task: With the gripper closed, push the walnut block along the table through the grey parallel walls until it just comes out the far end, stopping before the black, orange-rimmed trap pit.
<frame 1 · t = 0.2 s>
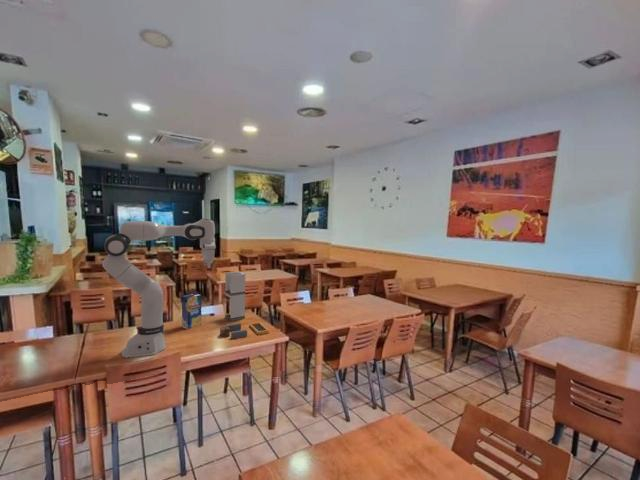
hand: (207, 266, 195), 47 cm above the table, fingers open, 8 cm apart
trap pit: (258, 329, 219), on the table
grey toy tower: (234, 318, 242), on the table
grey parallel walls: (236, 333, 210), on the table
walnut block: (224, 335, 207), on the table
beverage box: (191, 326, 222), on the table
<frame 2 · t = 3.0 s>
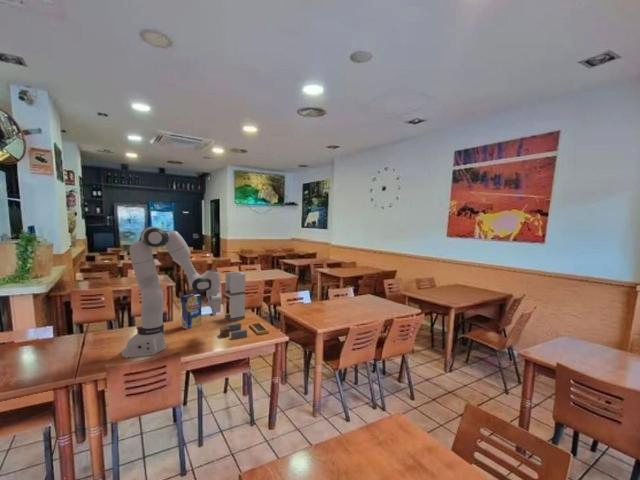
hand: (214, 315, 202), 14 cm above the table, fingers closed
nothing on the table moved.
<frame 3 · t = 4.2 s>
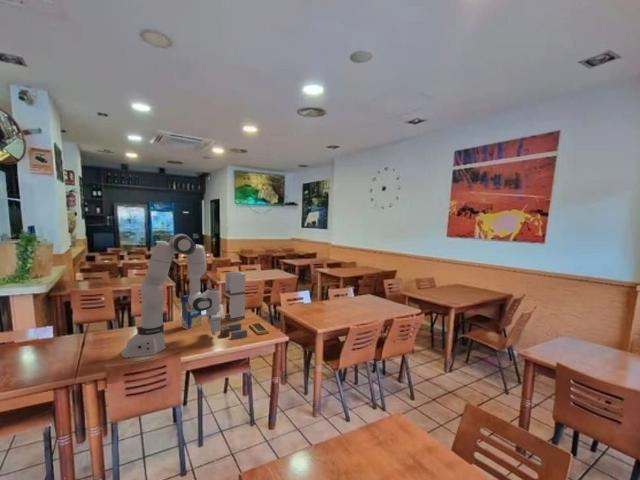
hand: (213, 334, 203), 2 cm above the table, fingers closed
nothing on the table moved.
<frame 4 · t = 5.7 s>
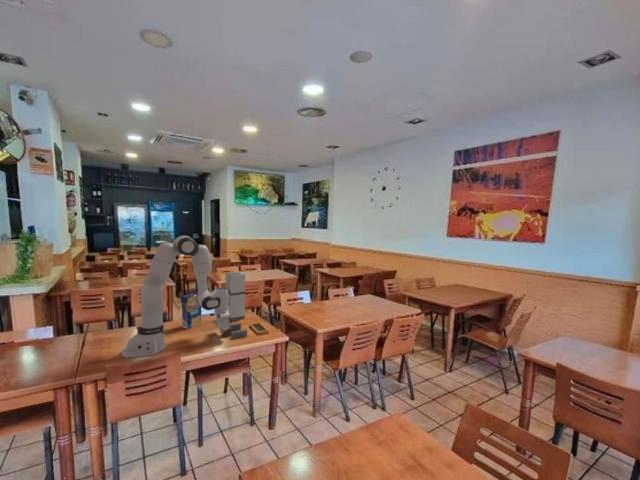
hand: (221, 332, 205), 2 cm above the table, fingers closed, pressing on walnut block
walnut block: (226, 335, 207), on the table, touching gripper
everything else where it was.
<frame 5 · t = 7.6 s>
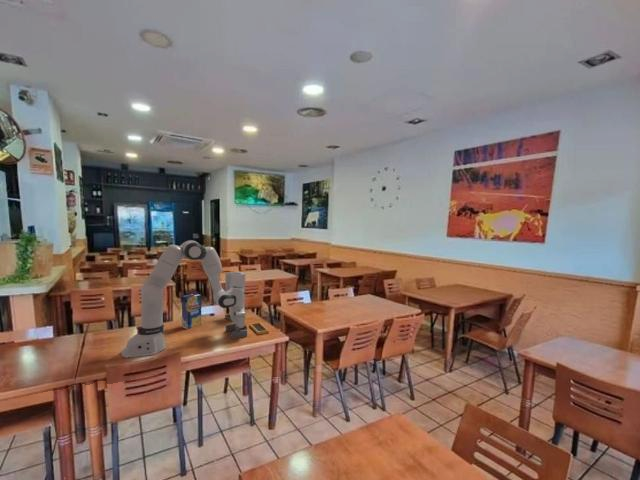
hand: (237, 330, 211), 2 cm above the table, fingers closed, pressing on walnut block
walnut block: (242, 332, 212), on the table, touching gripper
everything else where it was.
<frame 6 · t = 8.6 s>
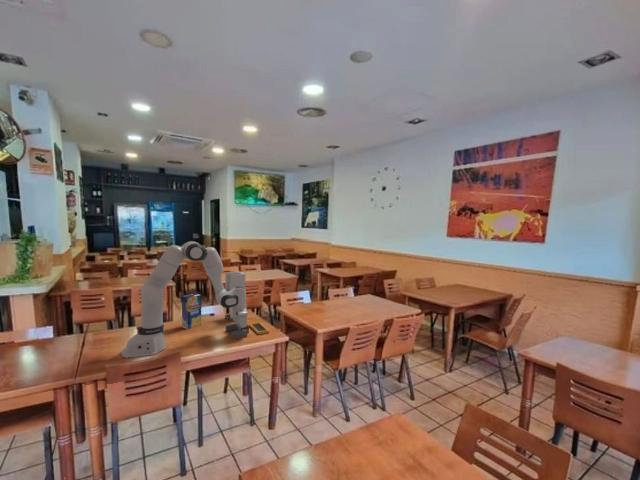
hand: (239, 329, 211), 2 cm above the table, fingers closed
walnut block: (244, 332, 213), on the table, touching gripper
everything else where it was.
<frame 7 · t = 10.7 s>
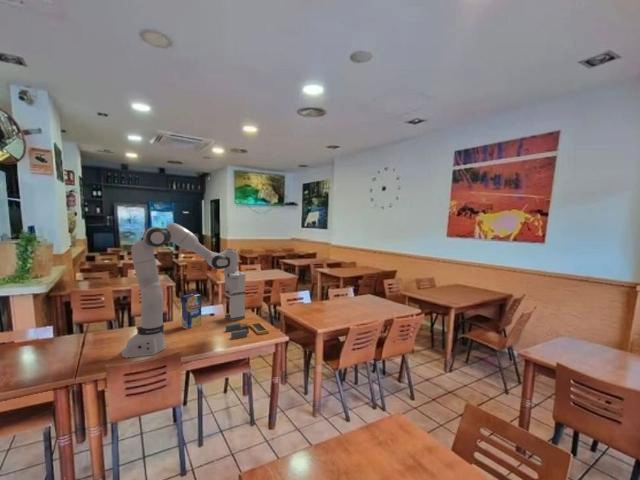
hand: (230, 293, 207), 28 cm above the table, fingers closed
walnut block: (244, 332, 213), on the table
everything else where it was.
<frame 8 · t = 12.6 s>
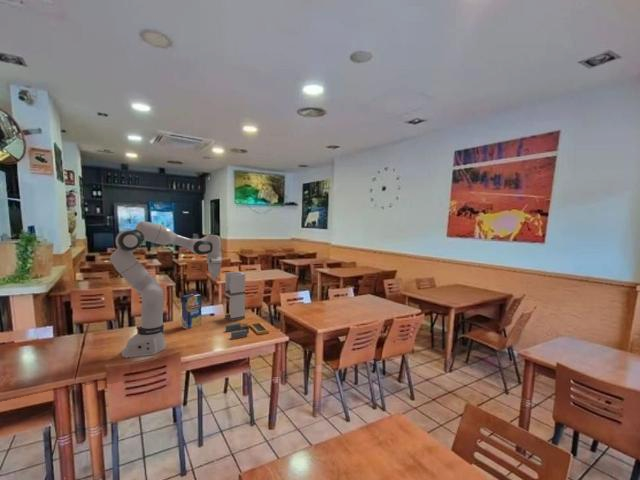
hand: (213, 279, 204), 37 cm above the table, fingers closed
nothing on the table moved.
at the end: walnut block inside the target area (1.4 cm from its centre), on the table; walnut block touching table; walnut block tilted 0° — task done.
